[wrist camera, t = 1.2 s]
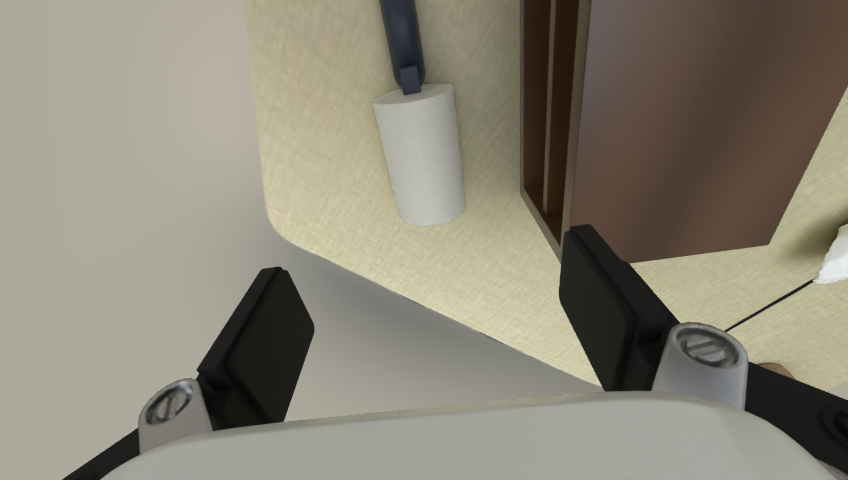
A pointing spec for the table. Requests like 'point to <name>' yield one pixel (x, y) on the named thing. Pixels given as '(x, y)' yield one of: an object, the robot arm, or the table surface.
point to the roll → (835, 260)
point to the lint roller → (418, 128)
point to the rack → (674, 117)
